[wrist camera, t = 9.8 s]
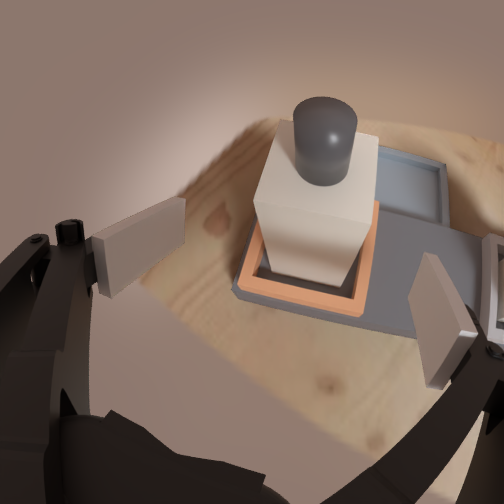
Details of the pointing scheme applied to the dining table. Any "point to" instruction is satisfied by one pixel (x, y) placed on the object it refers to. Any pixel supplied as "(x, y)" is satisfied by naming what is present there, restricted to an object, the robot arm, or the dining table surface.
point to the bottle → (317, 192)
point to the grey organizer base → (382, 276)
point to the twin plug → (500, 292)
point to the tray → (412, 186)
